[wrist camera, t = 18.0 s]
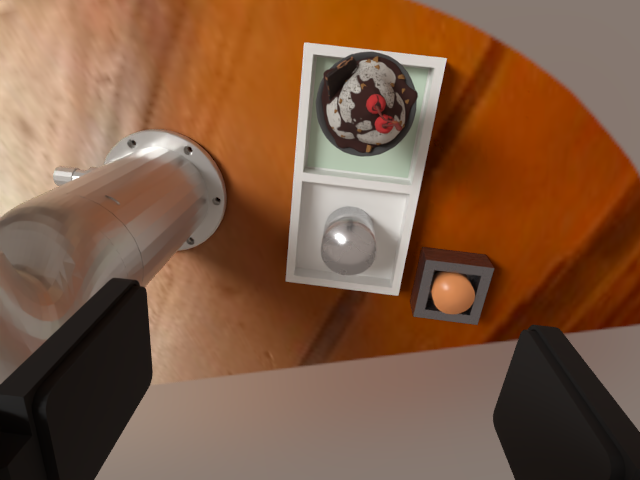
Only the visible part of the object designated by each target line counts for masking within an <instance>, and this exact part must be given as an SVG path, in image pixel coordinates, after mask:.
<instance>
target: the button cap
mask: <svg viewBox="0 0 640 480" xmlns="http://www.w3.org/2000/svg"><path fill="white" fill-rule="evenodd" d="M430 291H431V294H432V298H433V301H434V304H435V306H436V307H437V308H438V309H439V310H440V311H441V312H443V313H446V314H459V313H462V312H464V311H466V310H467V309H469V308H470V307H471V305H472V304H473V302H474V299H475V292H474V289H473V287H472V285H471V283H470V281H469V279H468V277H467V275H466V274H462V273H454V272H446V271H438V272H437V273H436V274H434V276H433V277H432V282H431V286H430Z"/></svg>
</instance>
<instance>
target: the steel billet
mask: <svg viewBox="0 0 640 480" xmlns="http://www.w3.org/2000/svg"><path fill="white" fill-rule="evenodd" d="M321 256H322V259H323V261H324V263H325V264H326V266H327V267H328V268H329V269H331V270H332V271H334V272H336V273H338V274H341V275H348V276H349V275H357V274H360V273H362V272H364V271H365V270H367V269H368V268H369V267H370V266H371V265H372V263H373V262H374V260H375V257H376V241H375V231H374V224H373V221H372V219H371V217H370V216H369V215H368V214H367V213H366V212H365V211H364V210H362V209H360V208H357V207H352V206H346V207H341V208H339V209H337V210H335V211H334V212H332V213H331V214H330V215H329V217H328V218H327V220H326V223H325V227H324V233H323V238H322V244H321Z"/></svg>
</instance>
